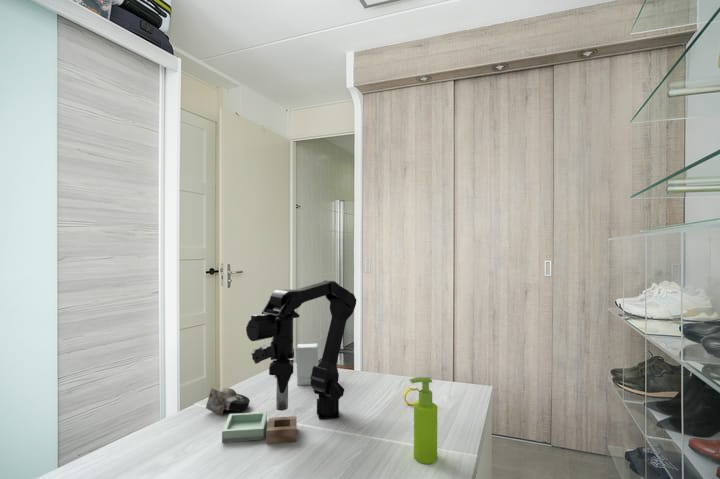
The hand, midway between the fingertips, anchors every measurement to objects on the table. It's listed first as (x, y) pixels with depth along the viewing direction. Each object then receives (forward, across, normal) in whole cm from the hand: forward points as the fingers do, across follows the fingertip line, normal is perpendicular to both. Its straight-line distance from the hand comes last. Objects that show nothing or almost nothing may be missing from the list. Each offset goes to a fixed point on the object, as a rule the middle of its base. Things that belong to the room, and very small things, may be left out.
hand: (282, 390), depth 109 cm
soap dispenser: (+13, +17, +36) cm, 42 cm away
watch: (+13, -16, +43) cm, 48 cm away
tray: (+13, -4, -10) cm, 17 cm away
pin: (+5, 0, 0) cm, 5 cm away
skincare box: (+13, -42, +8) cm, 45 cm away
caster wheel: (+13, -21, -18) cm, 30 cm away
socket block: (+13, 0, 0) cm, 13 cm away
